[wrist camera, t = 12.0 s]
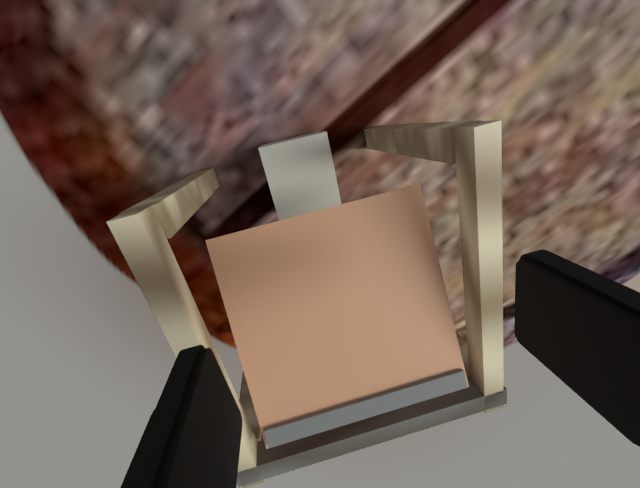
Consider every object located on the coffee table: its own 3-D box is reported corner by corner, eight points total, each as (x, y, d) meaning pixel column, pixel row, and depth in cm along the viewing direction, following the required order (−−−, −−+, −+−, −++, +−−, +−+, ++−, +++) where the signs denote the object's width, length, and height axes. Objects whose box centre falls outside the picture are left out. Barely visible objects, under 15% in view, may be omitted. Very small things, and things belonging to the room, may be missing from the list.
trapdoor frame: (194, 172, 26) (100, 223, 12) (381, 125, 27) (505, 119, 13) (254, 329, 32) (240, 489, 18) (404, 286, 33) (506, 405, 19)
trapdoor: (210, 239, 17) (203, 240, 16) (413, 185, 18) (422, 182, 17) (268, 436, 18) (265, 453, 17) (460, 378, 19) (472, 389, 17)
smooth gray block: (279, 211, 29) (260, 145, 26) (331, 198, 29) (317, 131, 27) (280, 227, 24) (258, 148, 22) (342, 211, 24) (326, 131, 22)
